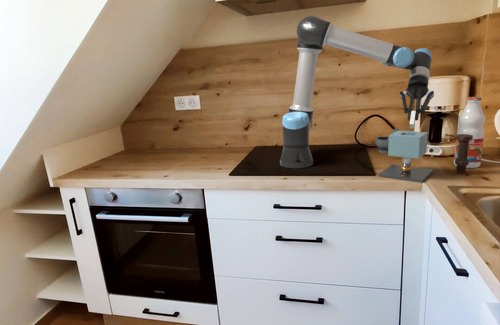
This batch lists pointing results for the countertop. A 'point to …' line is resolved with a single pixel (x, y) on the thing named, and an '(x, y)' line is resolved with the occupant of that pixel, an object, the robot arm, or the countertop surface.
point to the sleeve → (407, 144)
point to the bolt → (462, 153)
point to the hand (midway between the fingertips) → (411, 126)
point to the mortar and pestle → (383, 143)
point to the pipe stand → (406, 172)
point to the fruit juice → (472, 131)
